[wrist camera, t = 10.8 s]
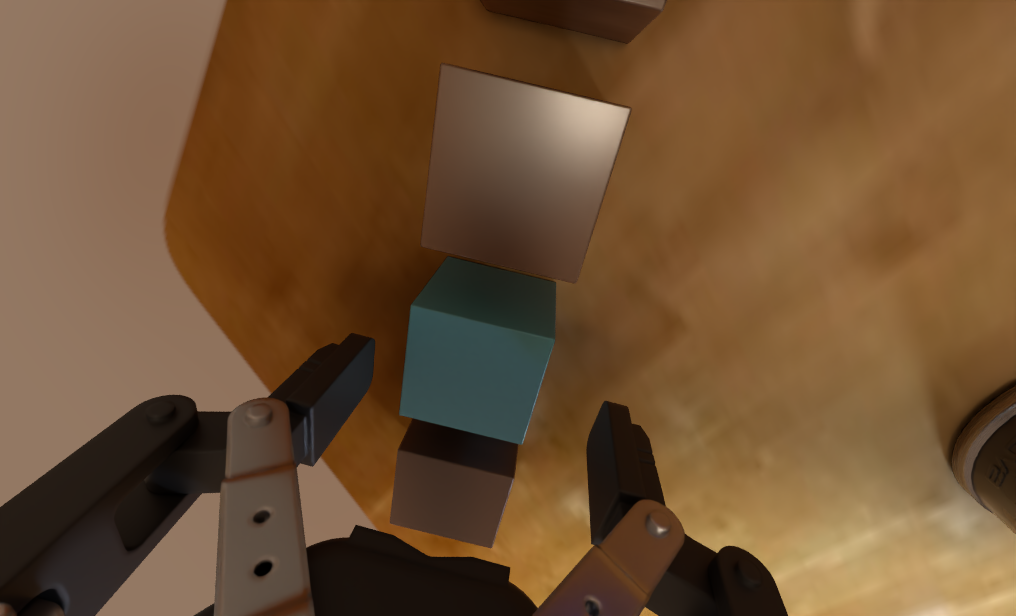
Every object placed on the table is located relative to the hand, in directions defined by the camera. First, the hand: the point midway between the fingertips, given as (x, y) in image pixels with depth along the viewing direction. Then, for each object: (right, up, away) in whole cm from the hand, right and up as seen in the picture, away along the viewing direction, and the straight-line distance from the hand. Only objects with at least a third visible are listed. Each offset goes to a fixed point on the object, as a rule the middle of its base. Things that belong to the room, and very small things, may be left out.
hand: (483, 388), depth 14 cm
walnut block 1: (-1, -4, +8) cm, 9 cm away
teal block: (0, +2, +5) cm, 6 cm away
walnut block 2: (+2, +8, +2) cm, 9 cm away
